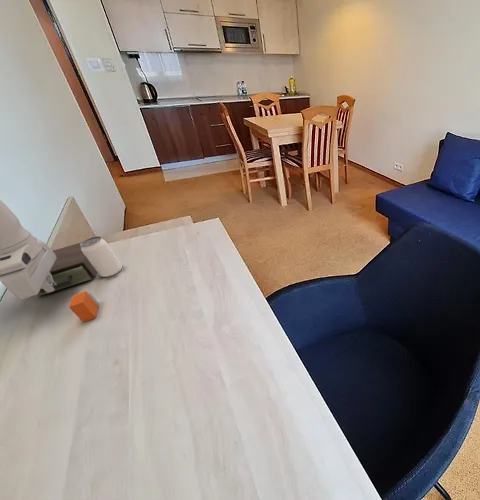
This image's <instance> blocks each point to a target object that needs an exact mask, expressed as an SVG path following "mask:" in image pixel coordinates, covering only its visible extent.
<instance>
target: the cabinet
mask: <svg viewBox="0 0 480 500" xmlns="http://www.w3.org/2000/svg"><path fill="white" fill-rule="evenodd" d="M82 242H83V241H81V242H78V243H74V244H71V245H68V246H63V247H61V248H57V249H53V250H52V251H53V252H54V253H55V255H56V258H57V259H56V261H55V263H54V264H53V266H52V268H51V270H50V273H51V274H53V273H56V272H60V271H63V270H66V269H69V268H73V267H76V266H79V265H82V266H83V267H84V269H85V270H86V271H87V272H88V274H89V275H90V277H91V279H90V280H93V279H95V278H97V277H96V276H97V274H98V272H97V270H96V269H95V268H94V267H93V265H92V264H91V263H90V261H89V260H88V259H87V257H86V256H85V255H84V253H83V252H82V250H81V246H80V244H81V243H82ZM68 287H70V286H68ZM68 287H65V288H68ZM65 288H62V289H59V290H63V289H65ZM59 290H56V291H59ZM56 291H53V292H52V293H54V292H56Z"/></svg>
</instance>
